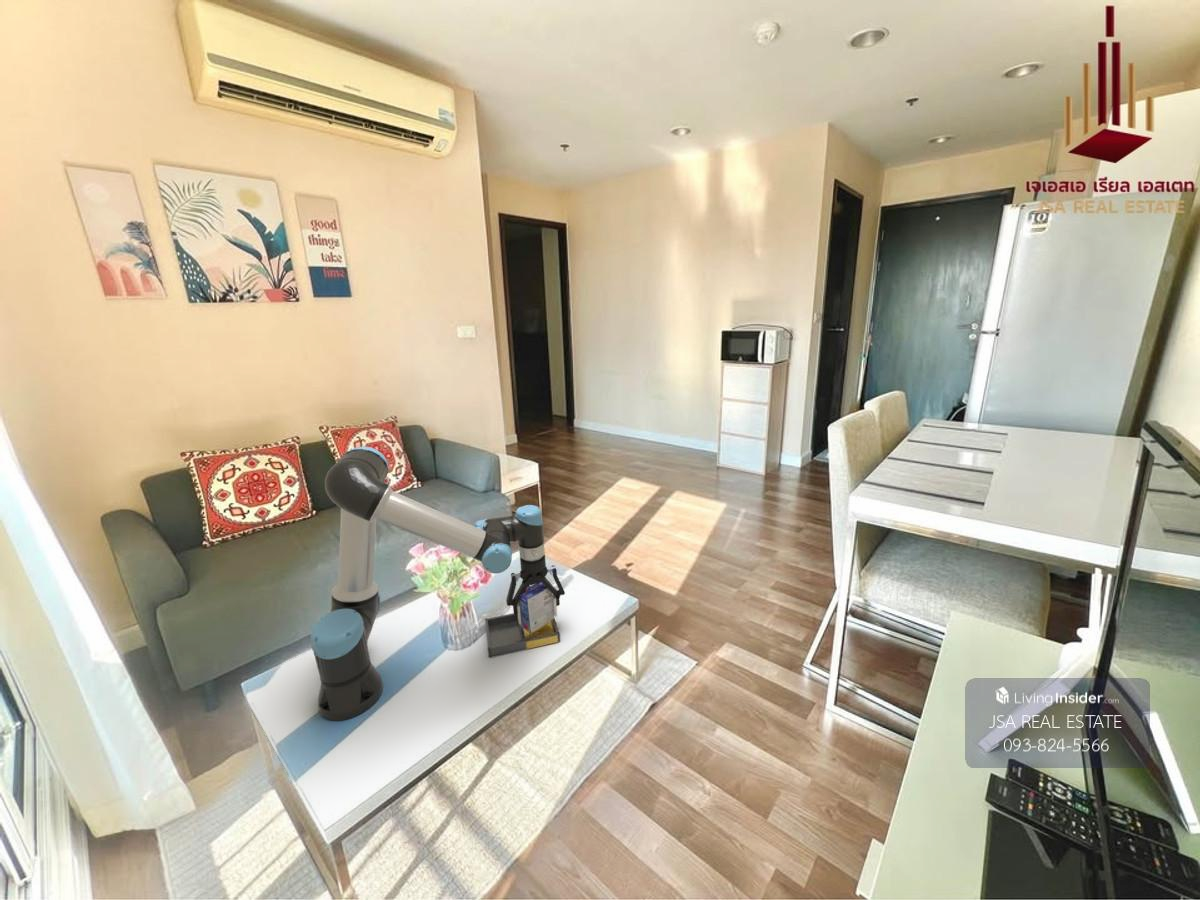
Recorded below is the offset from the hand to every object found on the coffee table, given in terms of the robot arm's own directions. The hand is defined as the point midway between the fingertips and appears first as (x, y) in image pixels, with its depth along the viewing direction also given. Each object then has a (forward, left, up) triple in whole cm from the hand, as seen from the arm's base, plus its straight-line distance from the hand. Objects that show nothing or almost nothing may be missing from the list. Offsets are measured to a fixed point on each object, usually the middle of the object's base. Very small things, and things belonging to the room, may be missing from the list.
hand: (537, 618), depth 145 cm
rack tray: (-5, 0, -5) cm, 7 cm away
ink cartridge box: (0, 0, -2) cm, 2 cm away
